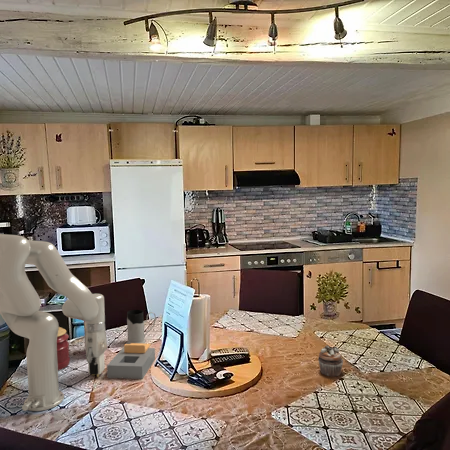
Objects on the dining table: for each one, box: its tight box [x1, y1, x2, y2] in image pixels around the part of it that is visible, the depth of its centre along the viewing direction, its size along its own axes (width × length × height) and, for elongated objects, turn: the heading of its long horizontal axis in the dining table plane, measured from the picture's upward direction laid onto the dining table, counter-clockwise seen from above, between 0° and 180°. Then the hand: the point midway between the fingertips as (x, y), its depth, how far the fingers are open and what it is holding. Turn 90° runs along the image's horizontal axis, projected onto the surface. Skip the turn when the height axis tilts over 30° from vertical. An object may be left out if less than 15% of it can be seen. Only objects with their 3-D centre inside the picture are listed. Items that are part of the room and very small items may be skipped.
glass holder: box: [126, 309, 157, 344], centre depth 193 cm, size 9×14×15 cm, turn 115°
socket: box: [106, 346, 156, 380], centre depth 164 cm, size 18×14×5 cm
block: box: [87, 352, 105, 378], centre depth 158 cm, size 5×5×10 cm
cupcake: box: [318, 344, 344, 377], centre depth 158 cm, size 10×10×10 cm
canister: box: [57, 326, 71, 371], centre depth 167 cm, size 13×13×18 cm
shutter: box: [123, 343, 151, 353], centre depth 171 cm, size 8×9×3 cm
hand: (96, 370), depth 158 cm, fingers closed on block, 4 cm apart
